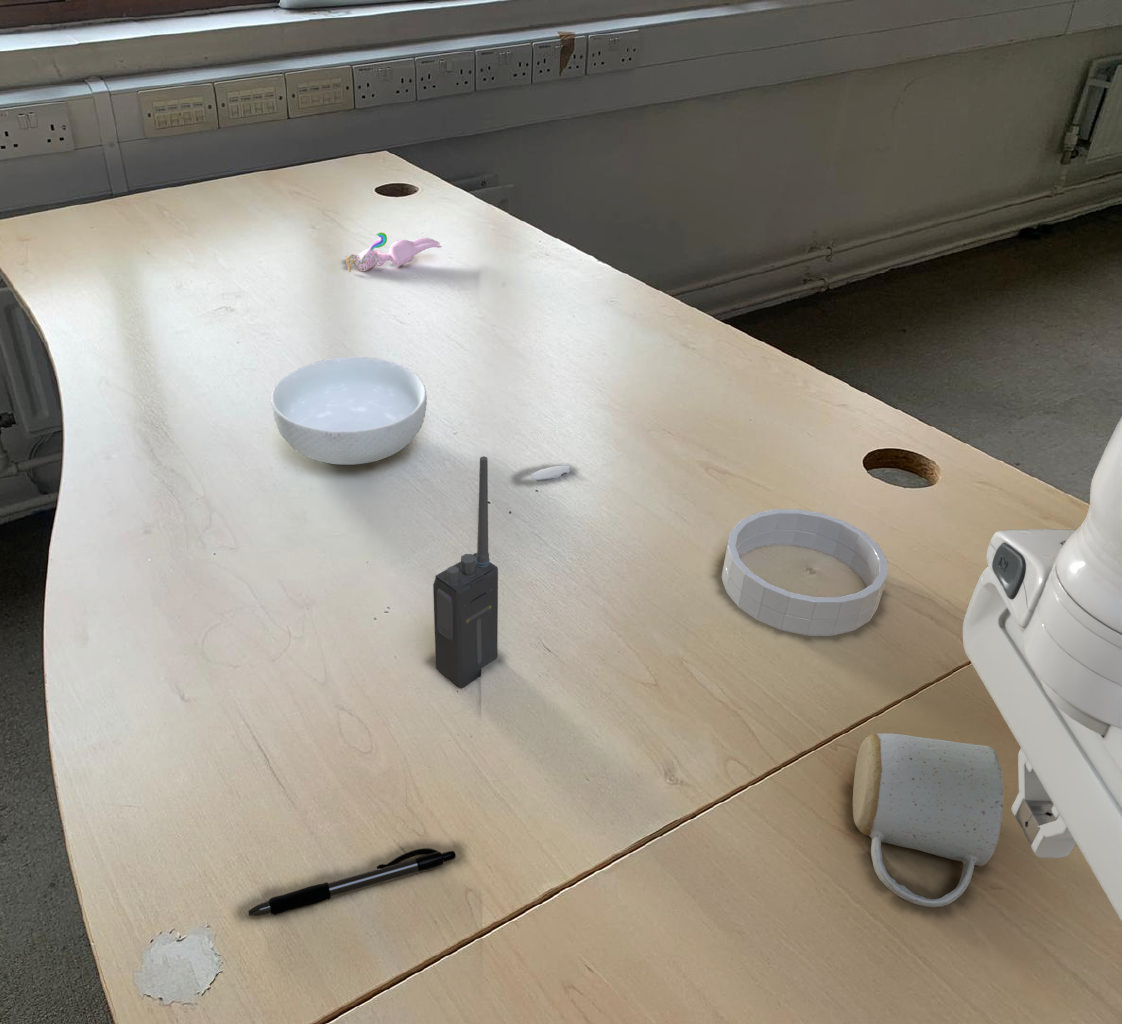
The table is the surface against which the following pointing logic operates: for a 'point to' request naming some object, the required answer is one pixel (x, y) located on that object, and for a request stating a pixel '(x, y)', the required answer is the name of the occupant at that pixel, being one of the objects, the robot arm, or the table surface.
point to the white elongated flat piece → (550, 473)
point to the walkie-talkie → (468, 605)
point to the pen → (354, 882)
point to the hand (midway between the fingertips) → (1037, 835)
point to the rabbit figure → (390, 252)
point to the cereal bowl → (349, 409)
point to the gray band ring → (796, 608)
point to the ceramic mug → (928, 803)
